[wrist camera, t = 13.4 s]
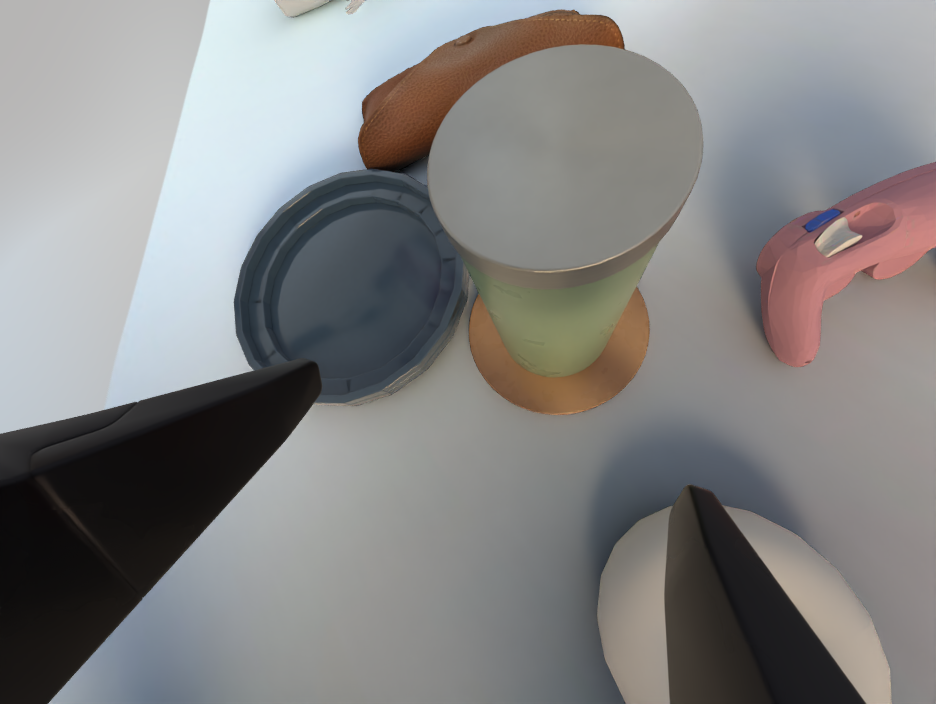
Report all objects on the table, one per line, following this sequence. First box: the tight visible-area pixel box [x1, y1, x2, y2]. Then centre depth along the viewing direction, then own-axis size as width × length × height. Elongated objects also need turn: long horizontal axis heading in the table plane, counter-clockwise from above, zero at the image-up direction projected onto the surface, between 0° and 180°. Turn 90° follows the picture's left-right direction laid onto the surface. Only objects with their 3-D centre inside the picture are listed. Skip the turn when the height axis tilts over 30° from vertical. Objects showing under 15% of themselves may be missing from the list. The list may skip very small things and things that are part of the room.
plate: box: [234, 169, 469, 406], centre depth 24 cm, size 16×16×2 cm
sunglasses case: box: [358, 10, 625, 172], centre depth 25 cm, size 18×7×7 cm, turn 106°
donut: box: [597, 505, 892, 704], centre depth 15 cm, size 10×3×10 cm
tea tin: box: [427, 44, 703, 377], centre depth 14 cm, size 6×6×13 cm
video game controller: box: [756, 162, 936, 367], centre depth 16 cm, size 10×5×7 cm, turn 108°
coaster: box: [469, 286, 649, 415], centre depth 21 cm, size 10×10×1 cm
